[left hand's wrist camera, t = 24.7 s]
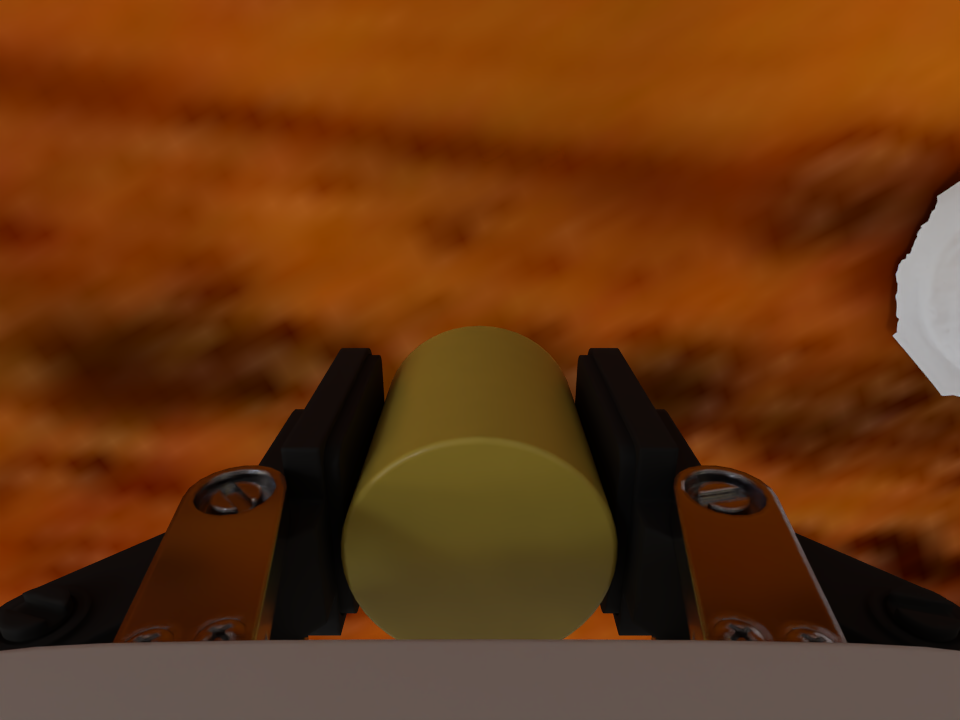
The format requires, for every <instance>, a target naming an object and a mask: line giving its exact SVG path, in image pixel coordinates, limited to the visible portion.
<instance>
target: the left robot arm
mask: <svg viewBox="0 0 960 720" xmlns="http://www.w3.org/2000/svg"><path fill="white" fill-rule="evenodd" d="M383 406H384V388H383V372H382V360H381V356H380V355H372V353H371V350H370V349H369V348H342V349H341V350H340V351H339V353H338V355H337V356H336V358H335V360H334V361H333V363H332V365H331V366H330V368H329V370H328V371H327V373H326V374H325V376H324V378H323V379H322V381H321V383H320V384H319V386H318V388H317V389H316V391H315V393H314V394H313V396H312V398H311V399H310V401H309V402H308V404H307V406H306V407H305V409H295V410H294V411H293V412H292V414H291V415H290V417H289V418H288V420H287V422H286V423H285V425H284V426H283V428H282V429H281V431H280V432H279V434H278V436H277V437H276V439H275V440H274V442H273V443H272V445H271V447H270V448H269V450H268V451H267V453H266V454H265V456H264V457H263V459H262V461H261V462H260V464H259V465H253V466H239V467H233V468H228V469H225V470H222V471H218V472H215V473H213V474H211V475H209V476H207V477H205V478H203V479H201V480H199V481H198V482H197V483H195V484H194V485H193V486H191V487H190V488H189V489H188V491H187V492H186V493H185V495H184V496H183V497H182V500H181V502H180V504H179V506H178V508H177V510H176V512H175V514H174V516H173V518H172V520H171V522H170V524H169V527H168V529H167V531H166V532H165V533H163V534H161V535H158V536H156V537H154V538H151V539H149V540H147V541H144V542H142V543H140V544H137V545H135V546H133V547H131V548H128V549H126V550H124V551H121V552H119V553H117V554H114V555H112V556H110V557H107V558H105V559H103V560H100V561H98V562H96V563H93V564H91V565H89V566H86V567H84V568H82V569H79V570H77V571H75V572H72V573H70V574H68V575H66V576H63V577H61V578H59V579H56V580H54V581H52V582H49V583H47V584H45V585H42V586H40V587H38V588H35V589H32V590H29V591H27V592H25V593H23V594H22V595H20V596H18V597H17V598H15V599H13V600H11V601H9V602H7V603H5V604H4V605H3V606H1V607H0V720H960V607H959V606H957V605H956V604H954V603H953V602H951V601H949V600H947V599H946V598H944V597H942V596H941V595H939V594H937V593H935V592H933V591H931V590H928V589H925V588H922V587H920V586H917V585H915V584H913V583H910V582H908V581H906V580H903V579H901V578H899V577H897V576H894V575H892V574H890V573H887V572H885V571H883V570H880V569H878V568H876V567H873V566H871V565H869V564H866V563H864V562H862V561H859V560H857V559H855V558H852V557H850V556H848V555H845V554H843V553H841V552H838V551H836V550H834V549H831V548H829V547H827V546H825V545H822V544H820V543H818V542H815V541H813V540H811V539H808V538H806V537H804V536H801V535H799V534H797V533H794V531H793V529H792V527H791V524H790V522H789V520H788V518H787V516H786V514H785V512H784V510H783V508H782V506H781V504H780V502H779V500H778V497H777V496H776V495H775V493H774V492H773V491H772V489H771V488H770V487H769V486H767V485H766V484H765V483H763V482H762V481H761V480H759V479H757V478H755V477H753V476H751V475H749V474H747V473H745V472H742V471H738V470H735V469H732V468H727V467H721V466H707V465H701V464H700V463H699V461H698V460H697V458H696V456H695V455H694V453H693V452H692V450H691V449H690V447H689V446H688V444H687V442H686V441H685V439H684V438H683V436H682V435H681V433H680V432H679V430H678V428H677V427H676V425H675V424H674V422H673V421H672V419H671V417H670V416H669V414H668V413H667V412H666V411H665V410H664V409H655V408H654V406H653V405H652V403H651V401H650V400H649V398H648V397H647V395H646V393H645V392H644V390H643V388H642V387H641V385H640V383H639V382H638V380H637V378H636V377H635V375H634V373H633V372H632V370H631V368H630V367H629V365H628V364H627V362H626V360H625V359H624V357H623V355H622V354H621V352H620V350H619V349H618V348H590V349H589V352H588V355H580V356H579V358H578V367H577V382H576V397H575V406H576V409H577V412H578V415H579V418H580V421H581V424H582V427H583V430H584V433H585V436H586V439H587V442H588V445H589V448H590V451H591V454H592V457H593V460H594V463H595V466H596V469H597V472H598V475H599V478H600V481H601V484H602V487H603V490H604V493H605V496H606V499H607V502H608V505H609V508H610V511H611V514H612V517H613V520H614V523H615V527H616V532H617V540H618V557H617V562H616V568H615V572H614V576H613V578H612V581H611V584H610V587H609V589H608V591H607V593H606V595H605V597H604V599H603V600H602V602H601V603H600V606H601V609H602V612H603V613H613V615H614V619H615V623H616V626H617V630H618V634H619V635H652V638H651V640H550V639H410V640H309V638H308V635H341V632H342V629H343V625H344V621H345V618H346V614H347V613H357V611H358V608H359V604H358V603H357V601H356V599H355V598H354V596H353V594H352V592H351V590H350V588H349V585H348V583H347V580H346V577H345V574H344V570H343V565H342V560H341V536H342V529H343V525H344V522H345V518H346V515H347V512H348V509H349V506H350V503H351V500H352V497H353V494H354V491H355V488H356V485H357V482H358V480H359V477H360V474H361V471H362V468H363V465H364V462H365V459H366V456H367V453H368V450H369V447H370V444H371V441H372V438H373V435H374V432H375V429H376V426H377V423H378V421H379V418H380V415H381V412H382V409H383Z"/></svg>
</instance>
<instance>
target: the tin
mask: <svg viewBox="0 0 960 720" xmlns="http://www.w3.org/2000/svg"><path fill="white" fill-rule="evenodd" d="M617 557H618V540H617V532H616V527H615V523H614V520H613V517H612V514H611V511H610V508H609V505H608V502H607V499H606V496H605V493H604V490H603V487H602V484H601V481H600V478H599V475H598V472H597V469H596V466H595V463H594V460H593V457H592V454H591V451H590V448H589V445H588V442H587V439H586V436H585V433H584V430H583V427H582V424H581V421H580V418H579V415H578V412H577V409H576V406H575V403H574V400H573V397H572V394H571V391H570V388H569V385H568V382H567V380H566V378H565V376H564V374H563V371H562V370H561V368H560V367H559V365H558V364H557V362H556V361H555V360H554V359H553V358H552V357H551V356H550V355H549V353H548V352H546V351H545V350H544V349H543V348H542V347H541V346H539V345H538V344H536V343H535V342H533V341H532V340H530V339H529V338H526V337H524V336H522V335H520V334H518V333H515V332H512V331H509V330H506V329H501V328H496V327H487V326H472V327H463V328H458V329H453V330H450V331H447V332H444V333H441V334H439V335H437V336H435V337H433V338H431V339H429V340H427V341H426V342H424V343H423V344H421V345H420V346H419V347H417V348H416V349H415V350H414V351H413V352H411V353H410V355H409V356H408V357H407V358H406V359H405V360H404V361H403V363H402V364H401V366H400V367H399V369H398V370H397V372H396V374H395V376H394V378H393V380H392V382H391V385H390V388H389V391H388V394H387V397H386V400H385V403H384V406H383V409H382V412H381V415H380V418H379V421H378V423H377V426H376V429H375V432H374V435H373V438H372V441H371V444H370V447H369V450H368V453H367V456H366V459H365V462H364V465H363V468H362V471H361V474H360V477H359V480H358V482H357V485H356V488H355V491H354V494H353V497H352V500H351V503H350V506H349V509H348V512H347V515H346V518H345V522H344V525H343V529H342V536H341V560H342V565H343V570H344V574H345V577H346V580H347V583H348V585H349V588H350V590H351V592H352V594H353V596H354V598H355V599H356V601H357V603H358V604H359V605H360V607H361V608H362V609H363V611H364V612H365V613H366V614H367V615H368V617H369V618H370V619H371V620H372V621H373V622H374V623H375V624H376V625H377V626H379V627H380V628H381V629H382V630H384V631H385V632H386V633H387V634H389V635H390V636H392V637H394V638H395V639H397V640H410V639H550V640H562V639H563V638H565V637H567V636H568V635H570V634H571V633H572V632H574V631H575V630H576V629H577V628H579V627H580V626H581V625H582V624H583V623H584V622H585V621H586V620H587V619H588V618H589V617H590V616H591V615H592V614H593V613H594V612H595V610H596V609H597V607H598V606H599V605H600V603H601V602H602V600H603V599H604V597H605V595H606V593H607V591H608V589H609V587H610V584H611V581H612V578H613V576H614V572H615V568H616V562H617Z"/></svg>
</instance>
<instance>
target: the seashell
mask: <svg viewBox="0 0 960 720" xmlns="http://www.w3.org/2000/svg"><path fill="white" fill-rule="evenodd" d="M937 201H938V202H937V204H936V206H935V210H933V211H932V213H931V215H930V218H929V220H928V222H926V223H925V224H923V225H922V226H921V227H922V228H921V229H920V230H919V232H918V234H917V238H916V240H915V242H914V245H913V247H912V251H911V253H910V254H907V256H906V259H904V260H901V263H900V264H899V266H898V271H897V273H896V280H897V283H898V291H897V294H896V301H897V311H896V316H897V318H899V321H898V323H897V333H895V334H894V335H893V337H894V338H895V339H896V340H897V342H898V343H899V344H900V345H901V346H902V347H903V349H904V350H905V351H906V352H907V353H908V355H909V356H910V357H911V358H912V359H913V361H914V362H915V363H916V364H917V365H918V367H919V368H920V369H921V370H922V371H923V373H924V374H925V375H926V376H927V377H928V379H929V380H930V381H931V382H932V384H933V385H934V386H935V387H936V389H937V390H938V391H939V393H940V394H941V395H942V396H947V395H956V396H959V397H960V181H959V182H958V183H957V184H955V185H954V186H952V187H951V188H949V189H948V190H946V191H945V192H943V193H941V194H940V195H938V196H937Z"/></svg>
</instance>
